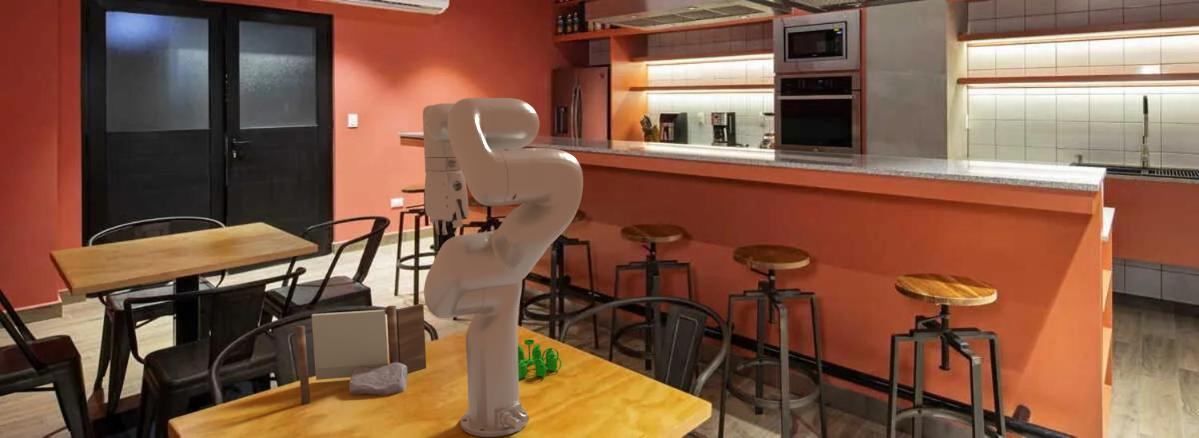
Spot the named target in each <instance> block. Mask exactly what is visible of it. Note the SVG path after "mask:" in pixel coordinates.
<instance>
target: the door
mask: <svg viewBox="0 0 1199 438" xmlns="http://www.w3.org/2000/svg"><path fill="white" fill-rule="evenodd" d="M311 328H312V339H313V354H314V356H313V357H314V367H315V368H314V369H315V380H316V381H321V380H333V379H346V378H351V376H352V372H353V371H354V370H355V369H357V368H358V367H362V366H363V367H366V368H377V367H380V366H382V365H384V364H389V359H388V358H389V354H388V336H387V317H386V309H375V310H371V309H370V310H360V311H359V310H357V311H356V310H354V311H341V312H326V313H313V314H311Z"/></svg>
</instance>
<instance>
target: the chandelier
mask: <svg viewBox="0 0 1199 438" xmlns="http://www.w3.org/2000/svg"><path fill="white" fill-rule="evenodd" d="M523 342H524V345H528V358H527V357H525V352H524V349H523V348H522V346H521V345H519V344H518V371H519V380H523V378H526V377H527V376H528V367H527V365H533V366H534V368H535V375H536V376H537V377H540V378H541V379H544V378H545V377H546V374H547V372H552V371H553V372H558V371H559V370H560V369H561V367H562V360H561V358H560V356H559V354H560V353H559V351H558V350H557V349H556V348H554V347H548V348H546V349H545V350H544V351H543V352H542V349H541V346H540V344H539V343H538V344H535V340H534V339H525V340H524V341H523ZM533 344H535V345H534V347H533V348H532V351H531V346H532V345H533ZM555 352H556V354H555ZM544 355H545V356H544ZM558 361H559V367H558Z"/></svg>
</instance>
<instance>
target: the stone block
mask: <svg viewBox="0 0 1199 438" xmlns="http://www.w3.org/2000/svg"><path fill="white" fill-rule="evenodd" d="M407 380H408V373H407V366H406V365H404V364H401V363H397V362H396V363H388V364H384V365H382V366H380V367H377V368H366V367H363V366H362V367H358V368H357V369H355V370H354V371H353V372H352V376H351V377H350V378H349V383H348V388H349V389H348V390H349V391H348V392H349V394H351V395H372V396H375V395H385V396H386V395H387V396H388V395H393V394H397V393H402V392H405V390H406V389H407V387H408V386H407Z"/></svg>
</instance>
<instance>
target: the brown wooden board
mask: <svg viewBox="0 0 1199 438" xmlns="http://www.w3.org/2000/svg"><path fill="white" fill-rule="evenodd" d="M424 311H425V310H424V304H423V303H418V304H414V305H411V306H410V305H409V306H404V307H400V308H397V306H396V305H388V306H386V327H387V345H388V358H389V359H388V364H390V363H396V362H397V363H401V364H404V365H406V366H407V374H410V373H414V372H417V371H420V370H424V369H426V368H427V357H426V355H427V354H426V333H425V312H424ZM295 331H296V333H295V334H296V344H297V345H296V346H297V358H298V368H299V369H298V372H299V384H300V385H299V387H300V396H301V398H300V400H301V405H308V404H310V403H311V397H310V396H311V394H310V392H311V391H310V381H309V367H308V354H307V353H308V352H307V341H306V326H305V325H297V326H296V327H295Z"/></svg>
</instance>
